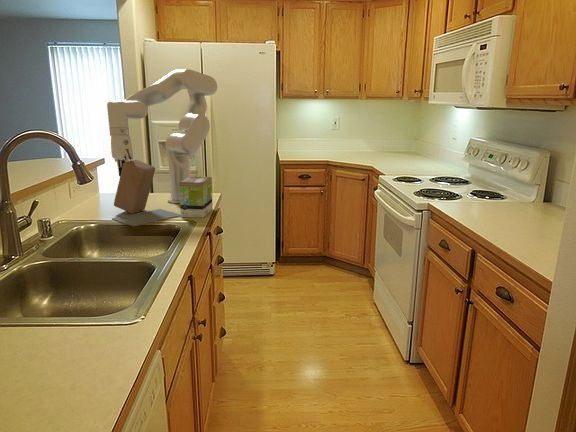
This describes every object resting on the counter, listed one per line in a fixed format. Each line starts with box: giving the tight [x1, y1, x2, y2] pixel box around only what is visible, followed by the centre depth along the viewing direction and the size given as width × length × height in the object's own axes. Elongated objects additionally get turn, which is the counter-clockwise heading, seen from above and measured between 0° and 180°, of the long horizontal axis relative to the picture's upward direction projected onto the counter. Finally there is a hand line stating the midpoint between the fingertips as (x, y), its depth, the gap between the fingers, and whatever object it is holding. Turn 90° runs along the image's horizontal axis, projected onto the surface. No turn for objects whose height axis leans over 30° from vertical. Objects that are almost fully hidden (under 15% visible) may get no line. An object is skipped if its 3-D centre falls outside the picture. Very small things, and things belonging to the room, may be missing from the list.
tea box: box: [179, 176, 213, 218], centre depth 182 cm, size 15×10×15 cm
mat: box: [111, 208, 181, 227], centre depth 177 cm, size 22×16×1 cm
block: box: [113, 159, 156, 214], centre depth 183 cm, size 10×10×20 cm
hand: (123, 176), depth 184 cm, fingers closed
